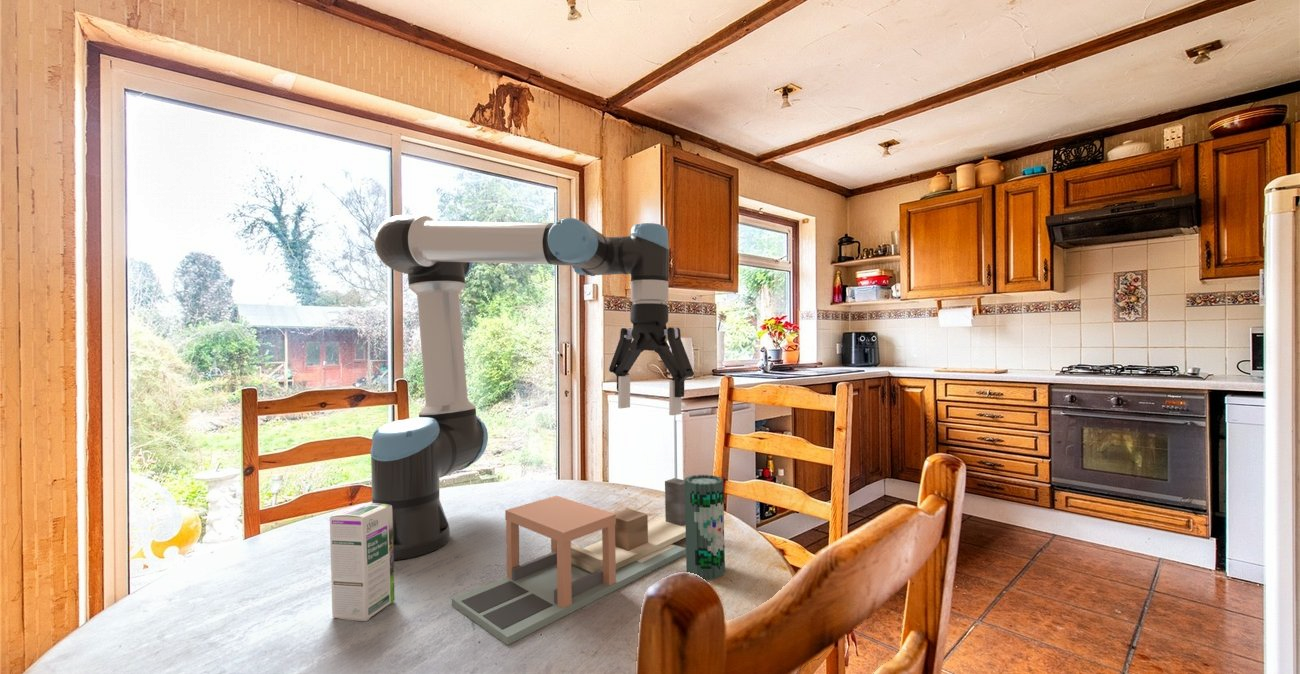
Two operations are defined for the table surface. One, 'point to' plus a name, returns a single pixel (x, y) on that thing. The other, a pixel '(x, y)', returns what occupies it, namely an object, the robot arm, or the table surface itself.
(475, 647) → the table surface
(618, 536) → the block
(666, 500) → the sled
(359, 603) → the syrup box
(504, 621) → the track
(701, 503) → the can
